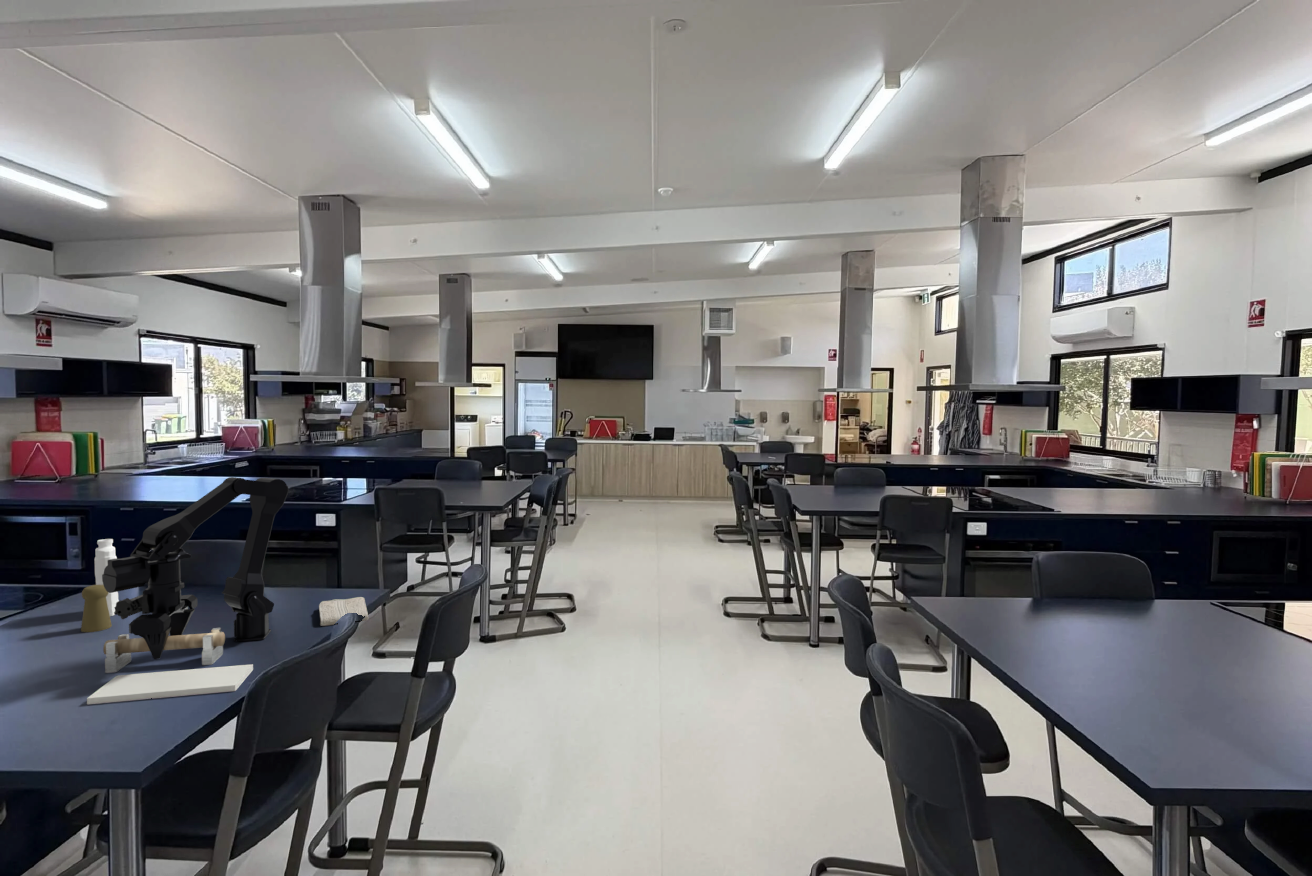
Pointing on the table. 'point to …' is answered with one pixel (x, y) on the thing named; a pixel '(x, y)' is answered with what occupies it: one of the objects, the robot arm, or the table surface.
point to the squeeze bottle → (101, 561)
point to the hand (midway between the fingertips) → (166, 651)
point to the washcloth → (341, 609)
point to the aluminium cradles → (120, 660)
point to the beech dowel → (167, 643)
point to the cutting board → (171, 684)
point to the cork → (95, 609)
